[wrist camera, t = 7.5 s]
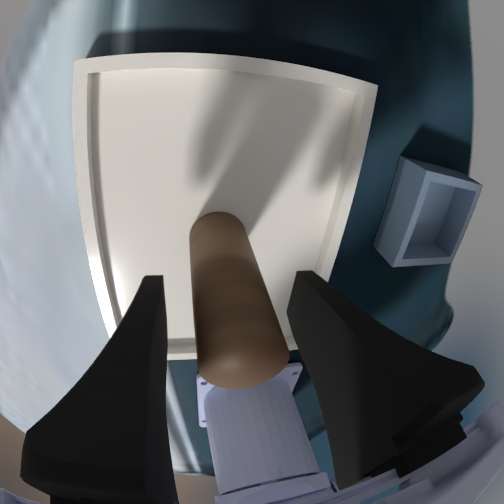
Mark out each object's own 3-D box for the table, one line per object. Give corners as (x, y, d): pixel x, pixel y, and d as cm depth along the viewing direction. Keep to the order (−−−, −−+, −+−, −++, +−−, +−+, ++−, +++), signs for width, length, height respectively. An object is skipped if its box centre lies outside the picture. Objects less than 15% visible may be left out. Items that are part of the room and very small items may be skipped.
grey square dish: (432, 245, 18) (451, 263, 16) (372, 245, 17) (392, 267, 15) (458, 171, 15) (482, 185, 13) (400, 155, 14) (426, 170, 12)
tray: (298, 335, 20) (304, 348, 19) (118, 345, 17) (116, 360, 16) (363, 82, 11) (377, 85, 10) (84, 61, 8) (73, 60, 7)
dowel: (242, 260, 15) (280, 383, 9) (188, 261, 14) (198, 391, 8) (248, 212, 13) (299, 330, 8) (189, 211, 13) (197, 337, 7)
